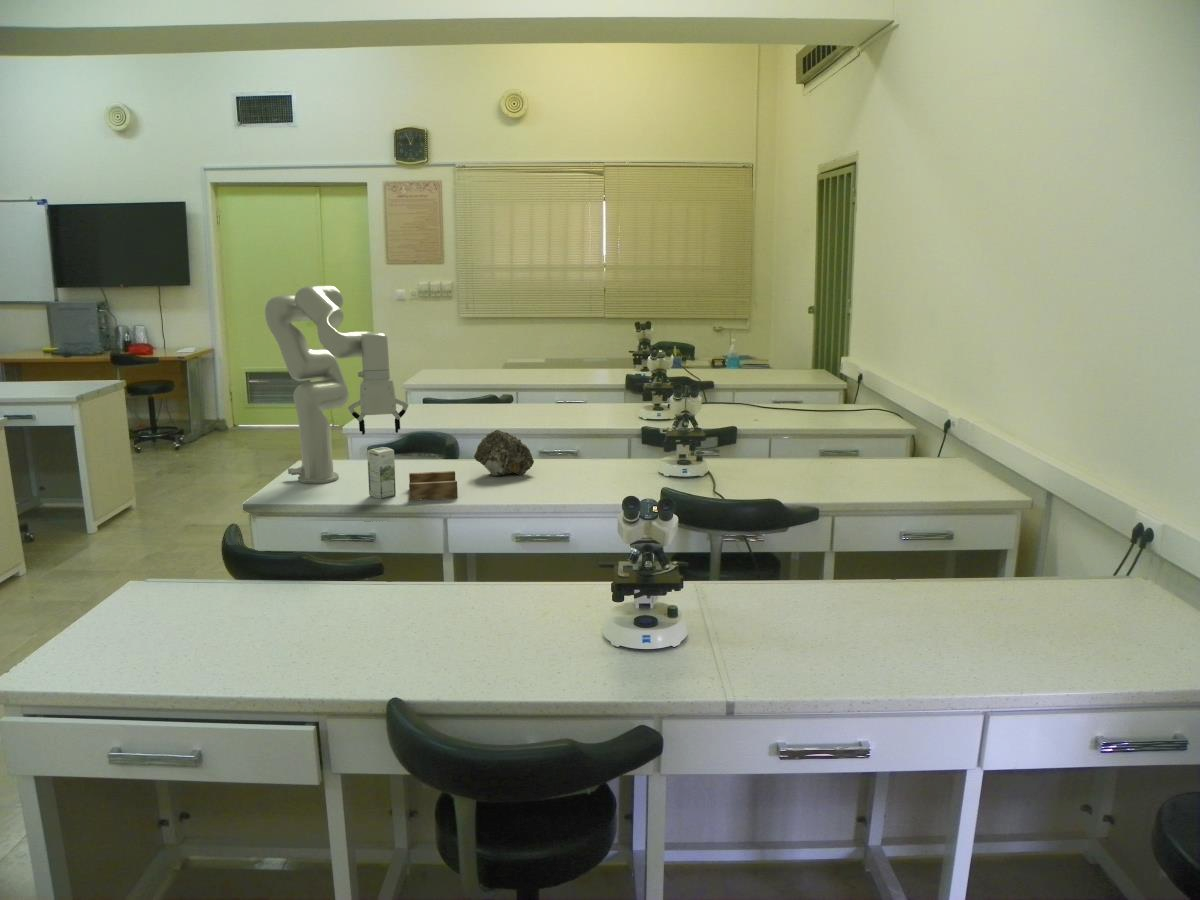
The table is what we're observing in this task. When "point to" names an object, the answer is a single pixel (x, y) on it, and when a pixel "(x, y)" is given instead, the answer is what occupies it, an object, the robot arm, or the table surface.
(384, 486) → the syrup box
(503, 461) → the rock
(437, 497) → the walnut rack
